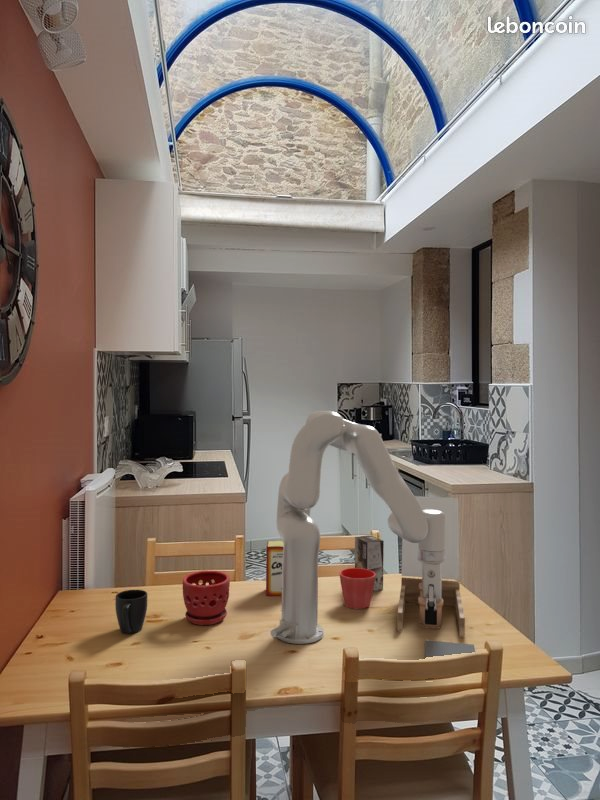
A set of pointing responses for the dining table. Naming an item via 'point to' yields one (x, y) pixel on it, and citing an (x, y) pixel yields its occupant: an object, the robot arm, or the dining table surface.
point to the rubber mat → (446, 648)
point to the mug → (131, 610)
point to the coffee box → (370, 557)
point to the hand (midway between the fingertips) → (430, 618)
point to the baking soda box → (274, 568)
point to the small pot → (422, 612)
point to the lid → (451, 539)
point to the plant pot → (206, 597)
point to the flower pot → (357, 587)
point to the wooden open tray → (449, 597)
